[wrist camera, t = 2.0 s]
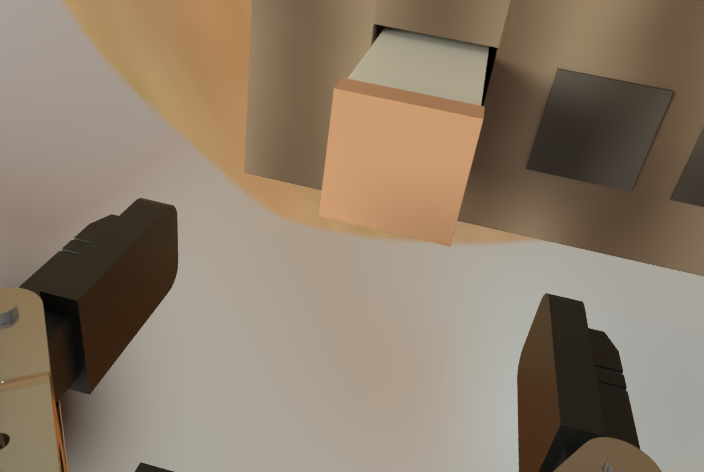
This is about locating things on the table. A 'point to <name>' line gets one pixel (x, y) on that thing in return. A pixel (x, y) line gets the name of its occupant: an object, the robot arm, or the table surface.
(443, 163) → the plug
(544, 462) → the robot arm
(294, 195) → the table surface
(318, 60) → the socket block
